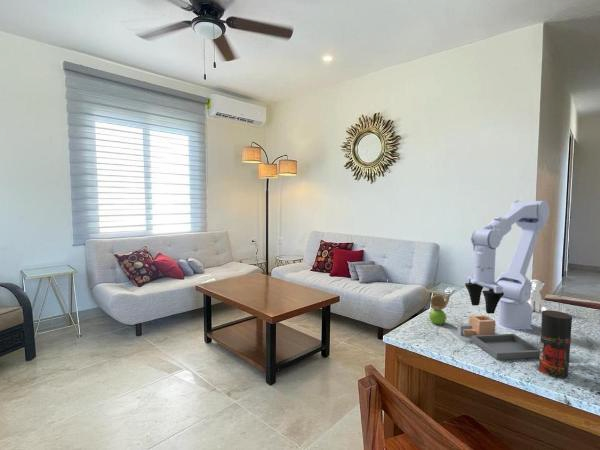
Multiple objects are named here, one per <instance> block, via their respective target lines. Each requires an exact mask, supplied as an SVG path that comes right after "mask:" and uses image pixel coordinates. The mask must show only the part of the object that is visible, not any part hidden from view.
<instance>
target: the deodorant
mask: <svg viewBox="0 0 600 450" xmlns="http://www.w3.org/2000/svg"><path fill="white" fill-rule="evenodd" d="M572 324H573V316H572V315H571V314H569V313H567V312H562V311H557V310H552V309H548V310H545V311H542V313H541V325H540V342H539V344H540V345H539V348H540V357H539V358H538V359H539V360H538V361H539V362H538V371H540V372H541V373H542V374H543V375H546V376H549V377H551V378H555V379H567V378H568V377H569V369H570V367H569V366H570V353H571V337H572V326H573V325H572Z"/></svg>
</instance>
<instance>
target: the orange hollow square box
mask: <svg viewBox="0 0 600 450" xmlns="http://www.w3.org/2000/svg"><path fill="white" fill-rule="evenodd" d="M495 321H496V320H494V319H493V318H491V317H490V316H487V315H485V314H484V315H483V314H480V315H479V314H478V315H476V314H475V315H469V323H468V324H470V325H472V329H467V330H463V334H464V335H495V332H496V324H495Z"/></svg>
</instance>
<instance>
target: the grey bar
mask: <svg viewBox="0 0 600 450" xmlns="http://www.w3.org/2000/svg"><path fill="white" fill-rule="evenodd" d="M457 329H458V330H457V333H458V334H459V335H460V336H462V335H463V329H472V325H470V324H469V323H458V324H457Z"/></svg>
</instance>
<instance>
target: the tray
mask: <svg viewBox="0 0 600 450" xmlns="http://www.w3.org/2000/svg"><path fill="white" fill-rule="evenodd" d="M470 342H471V343H472V344H473V345H475V346H477V348H479V349H481V350H482V351H484V352H485V353H486V354H488V355H489V357H492V358H493V359H494V360H496V361H501V360H502V361H503V360H504V361H505V360H522V359H527V360H528V359H539V357H540V347H538V346H536V345H535V344H532V343H530V342H529V341H527V340H525V339H523V338H522V337H520V336H518V335H517V334H514V333H504V334H503V333H502V334H500V333H497V335H473V336H471V340H470Z"/></svg>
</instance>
